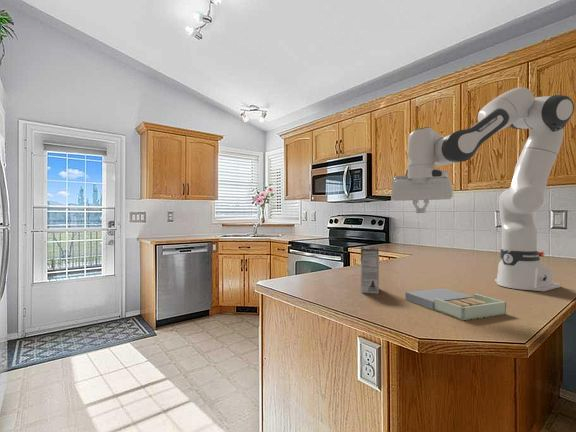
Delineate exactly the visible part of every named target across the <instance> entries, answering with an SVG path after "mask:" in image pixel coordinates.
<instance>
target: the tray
mask: <svg viewBox="0 0 576 432" xmlns="http://www.w3.org/2000/svg"><path fill="white" fill-rule="evenodd" d="M472 295H473V296H472V297H473V298H472V299H476V300H480V301H483V302H486V304H482V305H475V306H468V307H461V306H458V305H455V304H452V303H449V302H446V301H443V300H440V299H437V298H434V310H433V311H436V312H437V313H438V312H439V313H441V314H444V315H446V314H447V316H449V315H450V316H449V317H452V318H454V317H455V318H454V319H457V318H458V319H457V320H459V319H460V321H462V320H463V322H464V320H466V321H470V319H472V320H478V319H477V318H479V319H484V318H483V317H485V318H491V317H495V316H496V317H497V316H503V315H507V302H506V301H505V300H500V299H497V298H493V297H489V296H486V295H485V296H484V295H481V294H478V293H472ZM457 301H459V300H457ZM490 316H491V317H490Z"/></svg>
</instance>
